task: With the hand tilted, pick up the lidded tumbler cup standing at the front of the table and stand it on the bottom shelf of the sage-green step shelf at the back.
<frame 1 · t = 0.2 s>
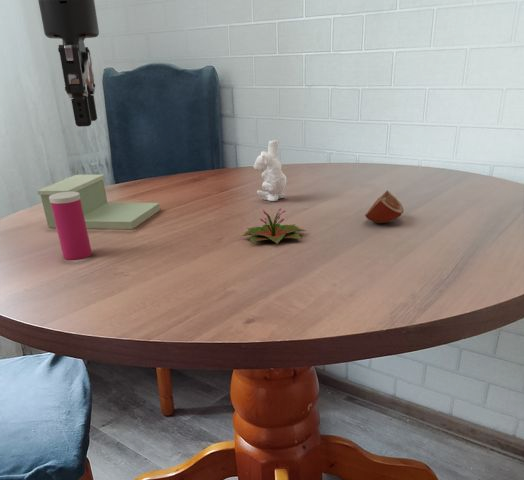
hand: (87, 123, 83), 20 cm above the table, tool pointing down, fingers open, 8 cm apart
step shelf: (106, 218, 110), on the table
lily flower: (273, 238, 94), on the table
lidded tumbler cup: (77, 255, 91), on the table
fruit slice: (383, 223, 99), on the table
white bunny figurine: (273, 200, 118), on the table
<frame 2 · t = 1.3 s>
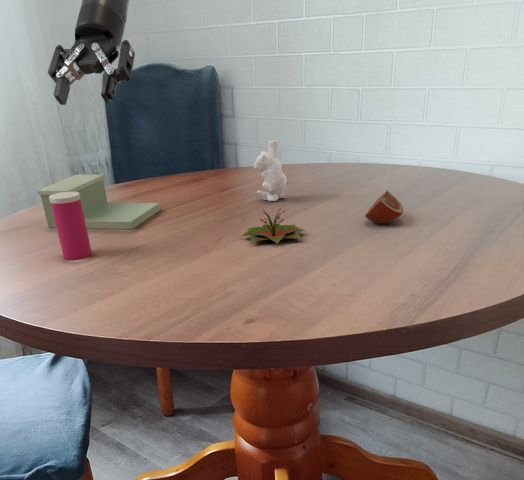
hand: (82, 100, 89), 23 cm above the table, tool tilted 45°, fingers open, 8 cm apart
nothing on the table moved.
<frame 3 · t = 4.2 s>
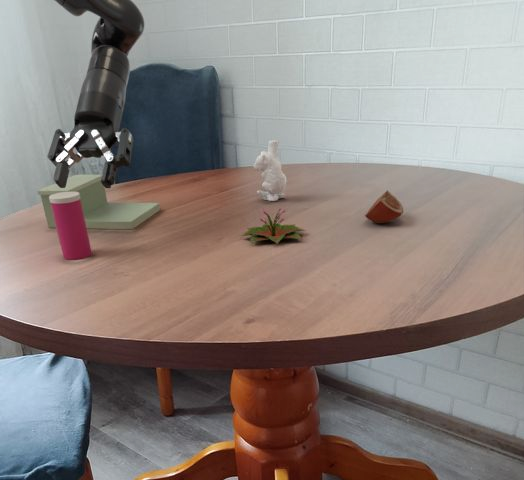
hand: (82, 185, 91), 10 cm above the table, tool tilted 45°, fingers open, 8 cm apart
nothing on the table moved.
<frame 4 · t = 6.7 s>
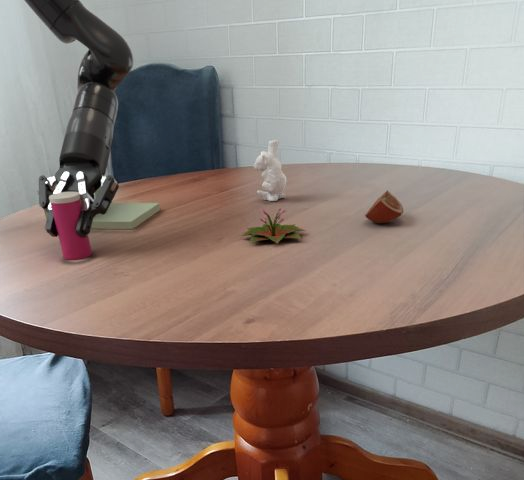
hand: (66, 234, 87), 4 cm above the table, tool tilted 45°, fingers closed on lidded tumbler cup, 4 cm apart
lidded tumbler cup: (77, 255, 91), on the table, touching gripper
everything else where it was.
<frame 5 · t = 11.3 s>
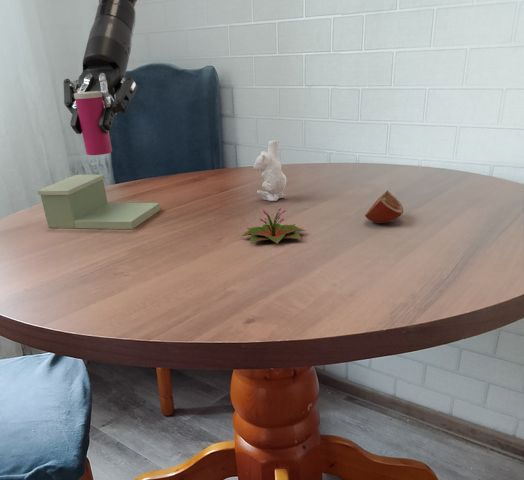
hand: (89, 130, 95), 18 cm above the table, tool tilted 45°, fingers closed on lidded tumbler cup, 4 cm apart
lidded tumbler cup: (99, 152, 98), point 14 cm above the table, touching gripper
everything else where it was.
when the fingers open (6 cm above the table, at t = 15.8 s): lidded tumbler cup stays where it is, resting on step shelf.
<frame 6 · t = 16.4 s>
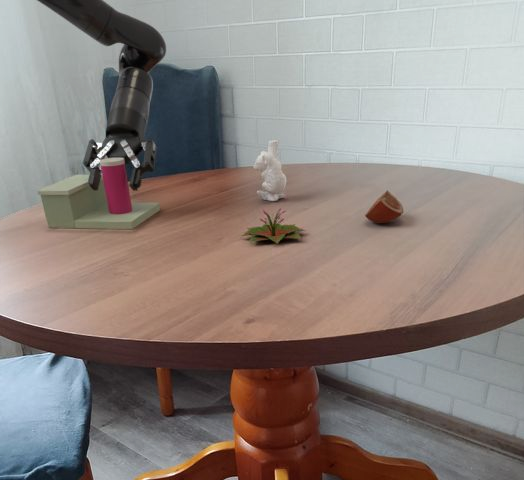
hand: (113, 188, 105), 6 cm above the table, tool tilted 45°, fingers open, 8 cm apart
lidded tumbler cup: (120, 211, 109), point 1 cm above the table, touching step shelf
everything else where it was.
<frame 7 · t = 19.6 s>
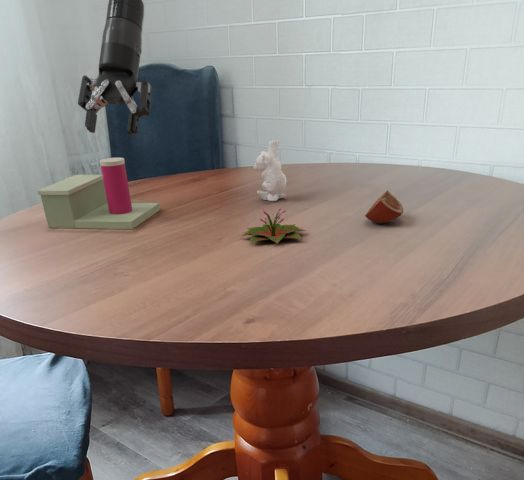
hand: (110, 133, 107), 16 cm above the table, tool tilted 30°, fingers open, 8 cm apart
nothing on the table moved.
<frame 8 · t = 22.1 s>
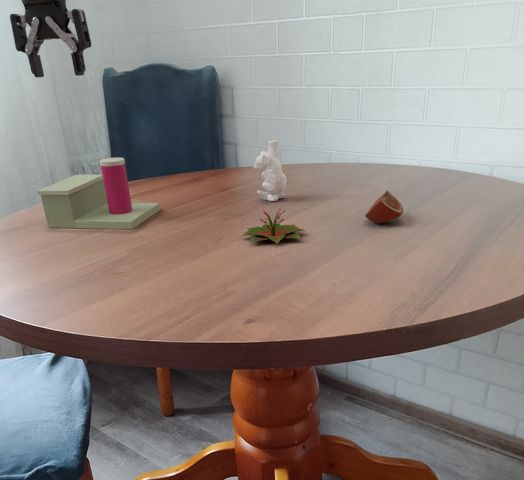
hand: (59, 76, 102), 26 cm above the table, tool pointing down, fingers open, 8 cm apart
nothing on the table moved.
at the end: lidded tumbler cup inside the target area on the step shelf (0.1 cm from its centre), point 1.5 cm above the step shelf's base; lidded tumbler cup tilted 0° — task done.
